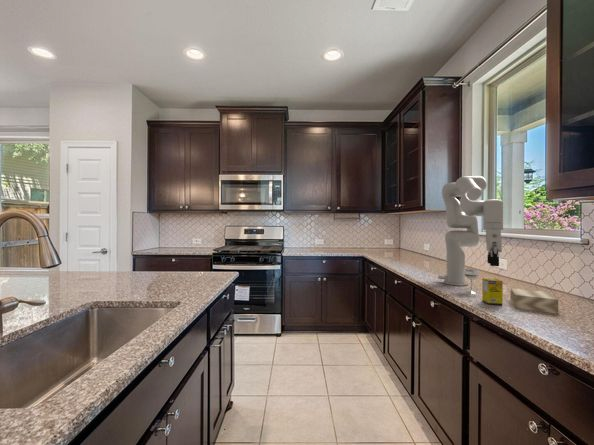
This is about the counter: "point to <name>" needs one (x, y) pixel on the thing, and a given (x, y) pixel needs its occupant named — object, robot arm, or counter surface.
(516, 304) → the riser block
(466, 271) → the wineglass
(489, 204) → the robot arm
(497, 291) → the supplement box
